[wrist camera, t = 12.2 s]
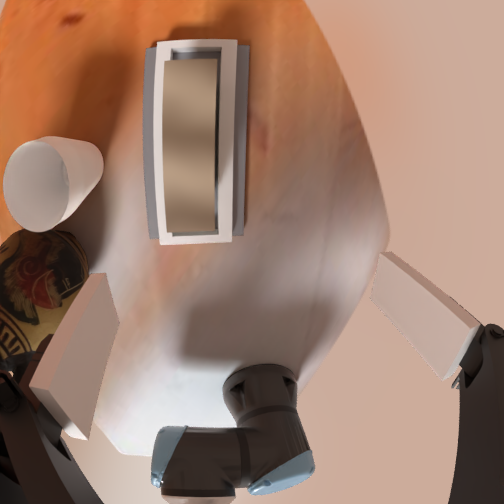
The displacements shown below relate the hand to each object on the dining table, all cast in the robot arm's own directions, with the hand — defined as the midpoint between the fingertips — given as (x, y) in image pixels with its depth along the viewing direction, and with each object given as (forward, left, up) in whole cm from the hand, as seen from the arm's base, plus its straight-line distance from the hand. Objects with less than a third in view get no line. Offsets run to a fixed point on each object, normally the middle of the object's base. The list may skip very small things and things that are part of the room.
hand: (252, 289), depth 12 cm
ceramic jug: (-10, +24, -24) cm, 36 cm away
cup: (+4, +18, -24) cm, 30 cm away
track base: (+6, +3, -24) cm, 24 cm away
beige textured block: (+6, +3, -22) cm, 23 cm away
